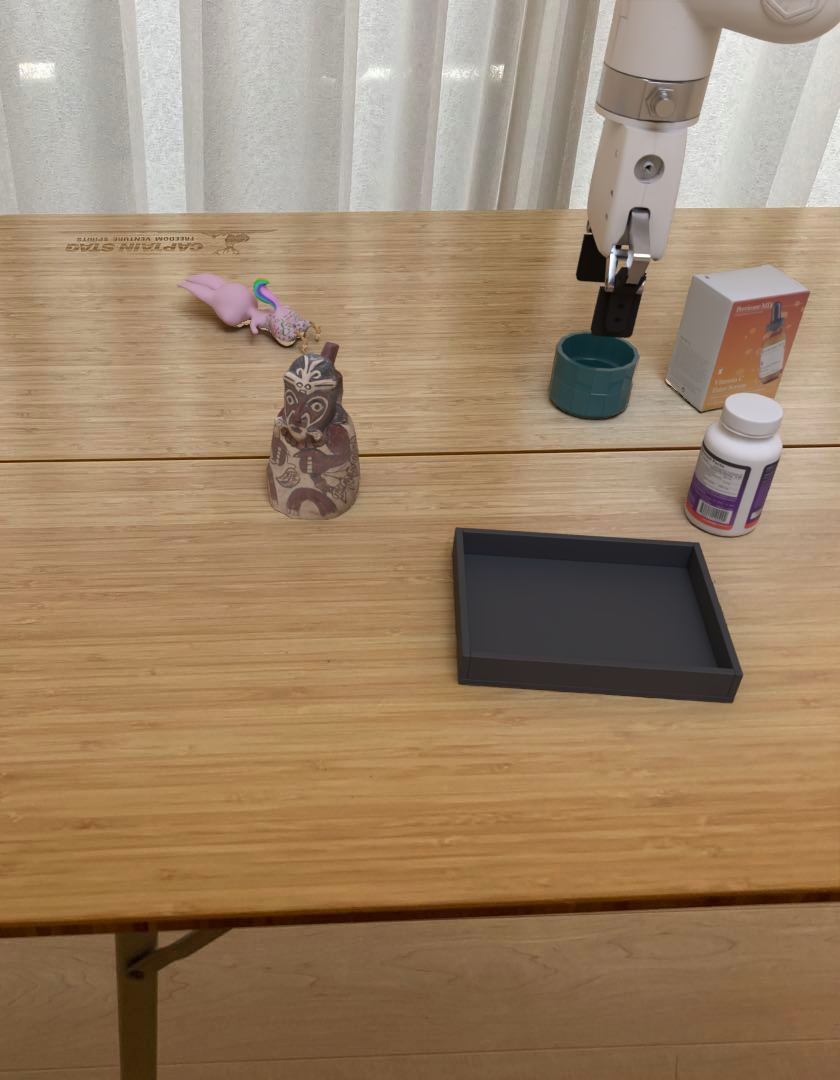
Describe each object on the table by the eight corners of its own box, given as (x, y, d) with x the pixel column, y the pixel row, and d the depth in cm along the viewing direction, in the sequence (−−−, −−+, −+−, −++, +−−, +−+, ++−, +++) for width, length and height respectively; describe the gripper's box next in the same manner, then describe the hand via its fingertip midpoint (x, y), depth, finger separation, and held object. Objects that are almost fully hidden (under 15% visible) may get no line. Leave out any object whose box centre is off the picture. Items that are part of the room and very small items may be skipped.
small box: (699, 414, 96) (731, 302, 89) (662, 382, 100) (690, 273, 93) (776, 400, 98) (813, 289, 91) (737, 369, 102) (770, 261, 95)
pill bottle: (735, 493, 86) (771, 384, 80) (770, 535, 82) (810, 424, 76) (670, 498, 86) (701, 389, 80) (702, 542, 82) (737, 430, 76)
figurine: (246, 496, 85) (245, 357, 77) (302, 455, 89) (306, 320, 82) (322, 532, 81) (328, 390, 74) (376, 488, 86) (387, 350, 79)
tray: (691, 569, 79) (699, 542, 78) (733, 703, 69) (743, 675, 67) (451, 554, 80) (455, 526, 78) (458, 684, 70) (462, 655, 68)
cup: (620, 383, 99) (632, 333, 96) (632, 424, 94) (645, 372, 91) (544, 379, 100) (553, 329, 97) (551, 419, 94) (561, 368, 91)
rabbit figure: (326, 346, 106) (197, 285, 111) (337, 292, 102) (204, 230, 106) (292, 373, 102) (160, 309, 106) (303, 318, 98) (165, 253, 102)
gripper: (729, 136, 74) (666, 362, 85) (679, 61, 87) (631, 264, 98) (616, 129, 74) (567, 355, 85) (584, 55, 88) (545, 259, 98)
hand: (601, 306), depth 91 cm, fingers open, 9 cm apart
